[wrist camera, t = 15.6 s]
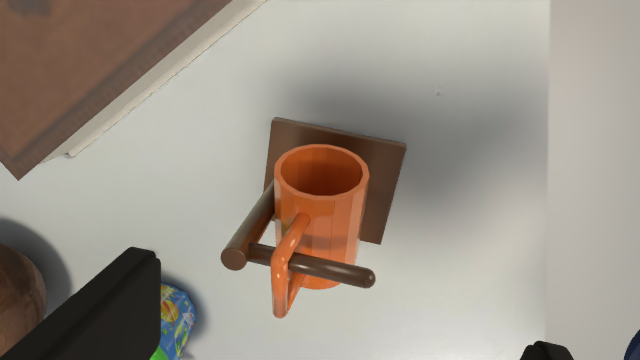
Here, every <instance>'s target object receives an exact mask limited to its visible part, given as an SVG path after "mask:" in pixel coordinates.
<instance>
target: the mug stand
mask: <svg viewBox="0 0 640 360" xmlns="http://www.w3.org/2000/svg"><path fill="white" fill-rule="evenodd" d="M310 144H327V145H332V146H337V147H341V148H344V149H347V150H349V151H351V152H353V153H355V154H356V155H358V156H359V157H360V158H361V159H362V160H363V161H364V162H365V163H366V164H367V167H368V171H369V175H370V177H369V184H368V190H367V196H366V203H365V209H364V215H363V222H362V228H361V234H360V240H361V241H366V242H370V243H375V244H379V245H380V244H381V241H382V237H383V233H384V230H385V226H386V222H387V218H388V215H389V211H390V207H391V203H392V200H393V196H394V192H395V188H396V184H397V181H398V177H399V173H400V169H401V166H402V162H403V158H404V154H405V151H406V144H405V143H400V142H395V141H390V140H385V139H380V138H375V137H370V136H365V135H360V134H355V133H350V132H345V131H340V130H336V129H331V128H326V127H321V126H316V125H311V124H306V123H301V122H296V121H291V120H286V119H281V118H274V119H273V120H272V124H271V132H270V141H269V149H268V158H267V166H266V174H265V183H264V191H263V195H262V196H261V198H260V199H259V201H258V202H257V203H256V205H255V206H254V208H253V209H252V210H251V212H250V213H249V215H248V216H247V218H246V219H245V220H244V222H243V223H242V225H241V226H240V227H239V229H238V230H237V232H236V233H235V234H234V236H233V237H232V239H231V240H230V242H229V243H228V244H227V246H226V247H225V249H224V250H223V251H222V253H221V261H222V263H223V265H224V266H225V267H226V268H228V269H230V270H235V271H236V270H240V269H242V268H244V267H245V265H246V263H247V261H249V262H253V263H257V264H262V265H266V266H270V267H271V261H270V260H271V256H272V254H273V253H274V251H275V249H276V247H272V246H267V245H263V244H258V242H259V240H260V239H261V237H262V235H263V233H264V232H265V230H266V228H267V226H268V225H269V223H270V221H271V220H272V221H275V193H274V168H275V163H276V162H277V161H278V159H279V158H280V157H281V156H282V154H284V153H286V152H288V151H290V150H292V149H293V148H296V147H300V146H305V145H310ZM288 271H292V272H296V273H301V274H305V275H309V276H313V277H318V278H322V279H326V280H331V281H335V282H339V283H344V284H348V285H352V286H357V287H361V288H370V287H372V286H373V285H374V283H375V279H376V278H375V274H374V272H373V271H372V270H370V269H368V268H364V267H359V266H355V265H350V264H346V263H342V262H337V261H333V260H329V259H324V258H320V257H315V256H311V255H307V254H302V253H298V252H293V254H292V256H291V257H290V259H289V261H288Z"/></svg>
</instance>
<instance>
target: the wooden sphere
mask: <svg viewBox="0 0 640 360" xmlns="http://www.w3.org/2000/svg"><path fill="white" fill-rule="evenodd" d="M46 303H47V295H46V288H45V284H44V280H43V278H42V276H41V274H40V272H39V270H38V269H37V267H36V266H35V265H34V264H33V263H32V261H31V260H30V259H28V258H27V257H26V256H25V255H24V254H22V253H21V252H19V251H17V250H16V249H14V248H12V247H10V246H7V245H5V244H2V243H0V357H1V356H2V355H3V354H5V353H6V352H7V351H8V350H9V349H10V348H12V347H13V346H14V345H15V344H16V343H18V342H19V341H20V340H21V339H22V338H23V337H25V336H26V335H27V334H28V333H29V332H30V331H32V330H33V329H34V328H35V327H36V326H37V325H39V324H40V323H41V322H42V321H43V318H44V315H45V310H46Z"/></svg>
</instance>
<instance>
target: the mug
mask: <svg viewBox="0 0 640 360" xmlns="http://www.w3.org/2000/svg"><path fill="white" fill-rule="evenodd" d="M369 177H370V175H369V171H368V167H367V164H366V163H365V162H364V161H363V160H362V159H361V158H360V157H359V156H358V155H356V154H355V153H353V152H351V151H349V150H347V149H344V148H341V147H337V146H332V145H327V144H310V145H305V146H300V147H296V148H293V149H292V150H290V151H288V152H286V153H284V154H282V156H281V157H280V158H279V159H278V161H277V162H276V163H275V168H274V193H275V227H276V249H275V251H274V253H273V254H272V256H271V260H270V261H271V284H272V307H273V314H274V316H275V317H277V318H284V317H285V316H286V315H287V313H288V311H289V309H290V307H291V305H292V303H293V301H294V299H295V297H296V295H297V293H298V291H299V289H300V287H304V288H308V289H327V288H331V287H334V286H336V285H339V284H340V283H339V282H335V281H331V280H326V279H322V278H318V277H313V276H309V275H305V274H301V273H296V272H292V271H288V261H289V259H290V257H291V256H292V254H293V252H298V253H302V254H307V255H311V256H315V257H320V258H324V259H329V260H333V261H337V262H342V263H346V264H350V265H355V262H356V259H357V253H358V247H359V241H360V234H361V228H362V222H363V215H364V209H365V203H366V196H367V190H368V184H369Z"/></svg>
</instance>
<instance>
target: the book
mask: <svg viewBox="0 0 640 360" xmlns="http://www.w3.org/2000/svg"><path fill="white" fill-rule="evenodd" d="M265 1H266V0H0V162H1V163H2V164H3V165H4V166H5V167H6V168H7V169H8V170H9V171H10V173H11V174H12V175H13V176H14V177H15V178H16V179H17V180H18V181H19V180H20V179H21V178H22V177H23V176H25V175H26V174H27V173H28V172H29V171H30V170H32V169H33V168H34V167H35V166H36V165H38V164H41V163H43V162H46V161H48V160H51V159H53V158H56V157H58V156H60V155H63V154H65V153H68V154H69V155H70V156H72V157H74V156H75V155H76V154H78V153H79V152H80V151H81V150H83V149H84V148H85V147H86V146H88V145H89V144H90V143H91V142H92V141H94V140H95V139H96V138H97V137H99V136H100V135H101V134H102V133H104V132H105V131H106V130H107V129H108V128H110V127H111V126H112V125H113V124H115V123H116V122H117V121H118V120H120V119H121V118H122V117H123V116H124V115H126V114H127V113H128V112H129V111H131V110H132V109H133V108H134V107H136V106H137V105H138V104H139V103H140V102H142V101H143V100H144V99H145V98H147V97H148V96H149V95H150V94H152V93H153V92H154V91H155V90H156V89H158V88H159V87H160V86H161V85H163V84H164V83H165V82H166V81H168V80H169V79H170V78H171V77H173V76H174V75H175V74H176V73H177V72H179V71H180V70H181V69H182V68H184V67H185V66H186V65H187V64H189V63H190V62H191V61H192V60H193V59H195V58H196V57H197V56H198V55H200V54H201V53H202V52H203V51H205V50H206V49H207V48H208V47H209V46H211V45H212V44H213V43H214V42H216V41H217V40H218V39H219V38H221V37H222V36H223V35H224V34H225V33H227V32H228V31H229V30H230V29H232V28H233V27H234V26H235V25H237V24H238V23H239V22H240V21H241V20H243V19H244V18H245V17H246V16H248V15H249V14H250V13H251V12H253V11H254V10H255V9H256V8H257V7H259V6H260V5H261V4H262V3H264V2H265Z"/></svg>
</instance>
